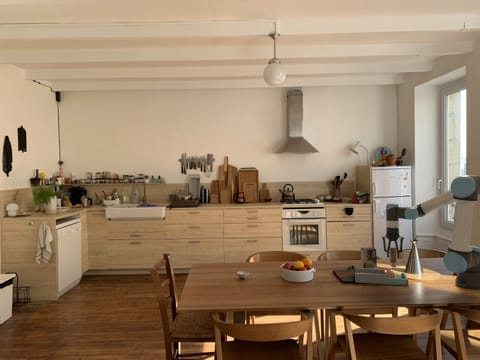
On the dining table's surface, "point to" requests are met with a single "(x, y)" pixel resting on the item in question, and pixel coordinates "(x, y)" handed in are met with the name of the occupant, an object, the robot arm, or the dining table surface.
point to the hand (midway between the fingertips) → (393, 262)
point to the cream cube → (398, 275)
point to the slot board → (370, 275)
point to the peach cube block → (389, 274)
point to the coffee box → (368, 258)
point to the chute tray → (398, 280)
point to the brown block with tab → (393, 256)
